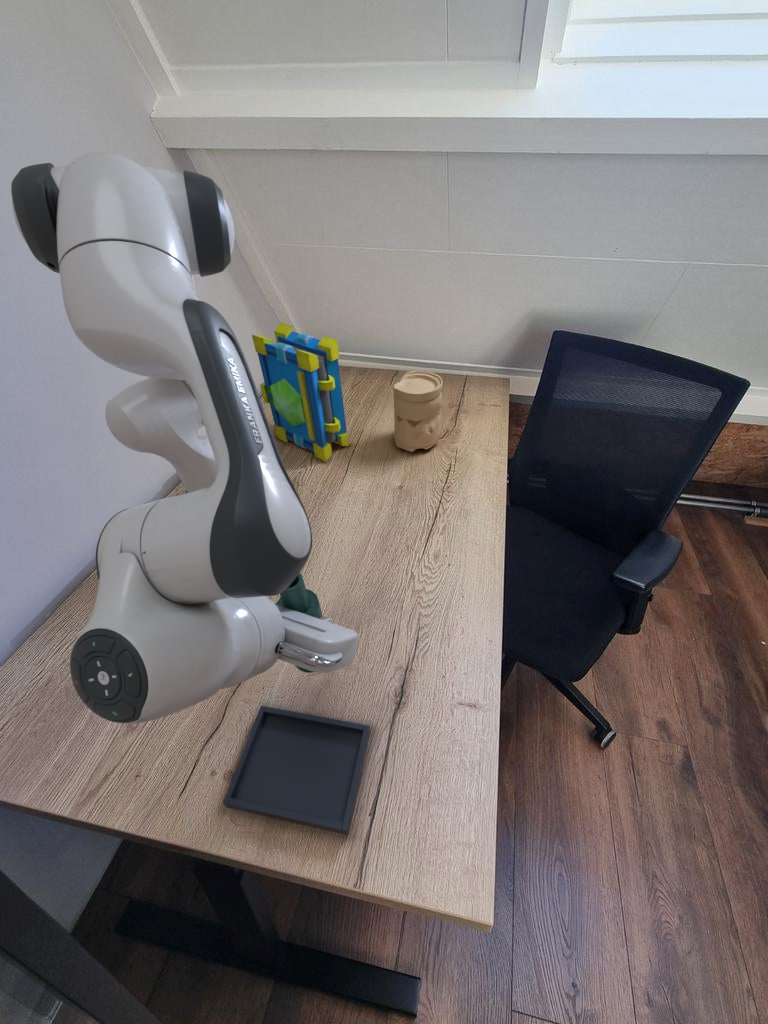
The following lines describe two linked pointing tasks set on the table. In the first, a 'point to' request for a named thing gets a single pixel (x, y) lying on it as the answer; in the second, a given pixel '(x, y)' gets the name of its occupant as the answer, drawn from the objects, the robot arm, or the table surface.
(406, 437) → the container
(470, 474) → the table surface
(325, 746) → the tray
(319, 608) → the flask
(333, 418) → the decorative book
